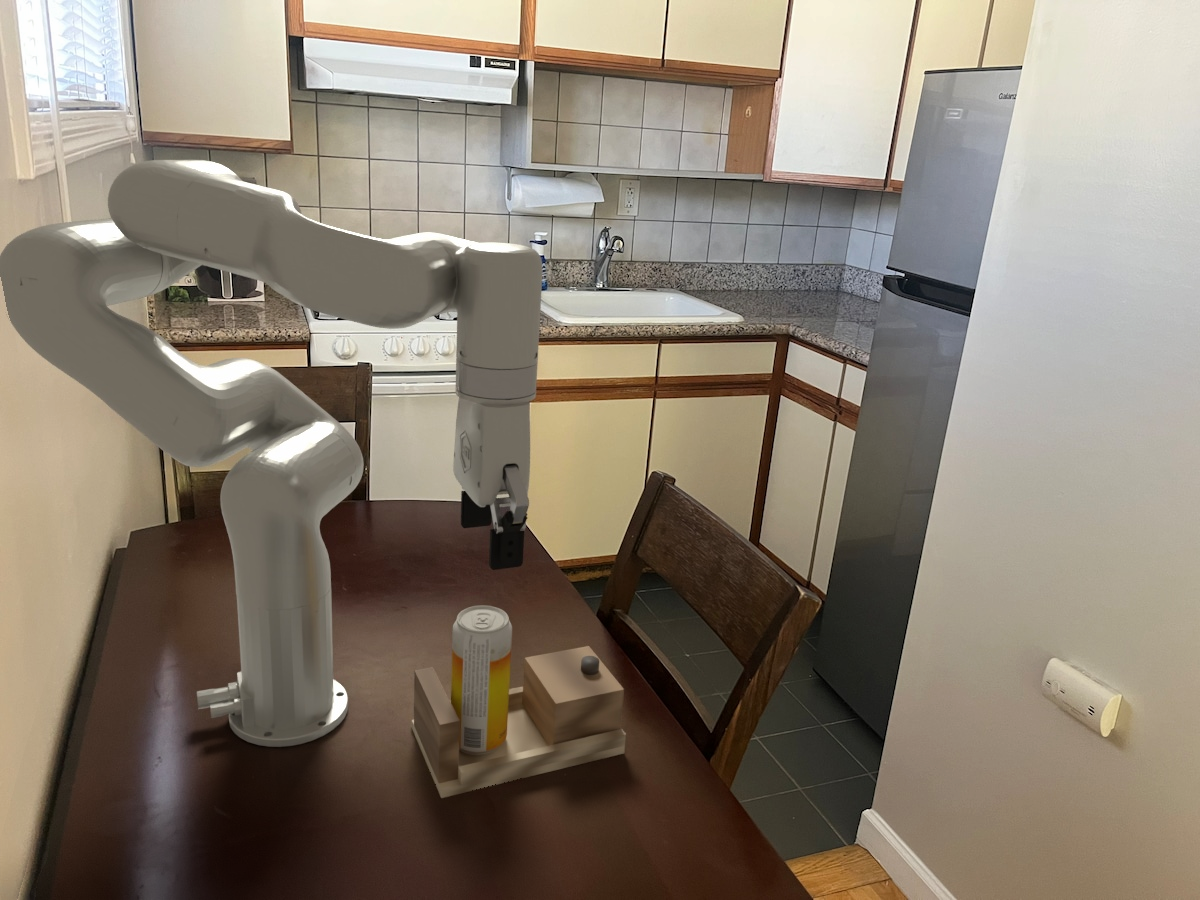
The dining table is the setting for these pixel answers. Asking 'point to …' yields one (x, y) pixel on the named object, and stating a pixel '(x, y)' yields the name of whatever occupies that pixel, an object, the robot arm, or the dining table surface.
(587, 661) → the block
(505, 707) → the beer can
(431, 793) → the dining table surface
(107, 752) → the dining table surface
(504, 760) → the vise base
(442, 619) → the dining table surface
